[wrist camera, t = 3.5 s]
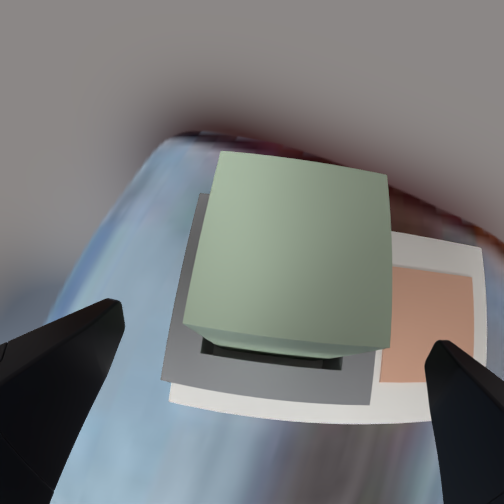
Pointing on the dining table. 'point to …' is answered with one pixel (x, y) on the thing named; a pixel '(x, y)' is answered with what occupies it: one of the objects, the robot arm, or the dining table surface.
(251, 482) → the dining table surface
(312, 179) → the plug
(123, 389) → the dining table surface
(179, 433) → the dining table surface
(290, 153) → the dining table surface
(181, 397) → the white board with socket
